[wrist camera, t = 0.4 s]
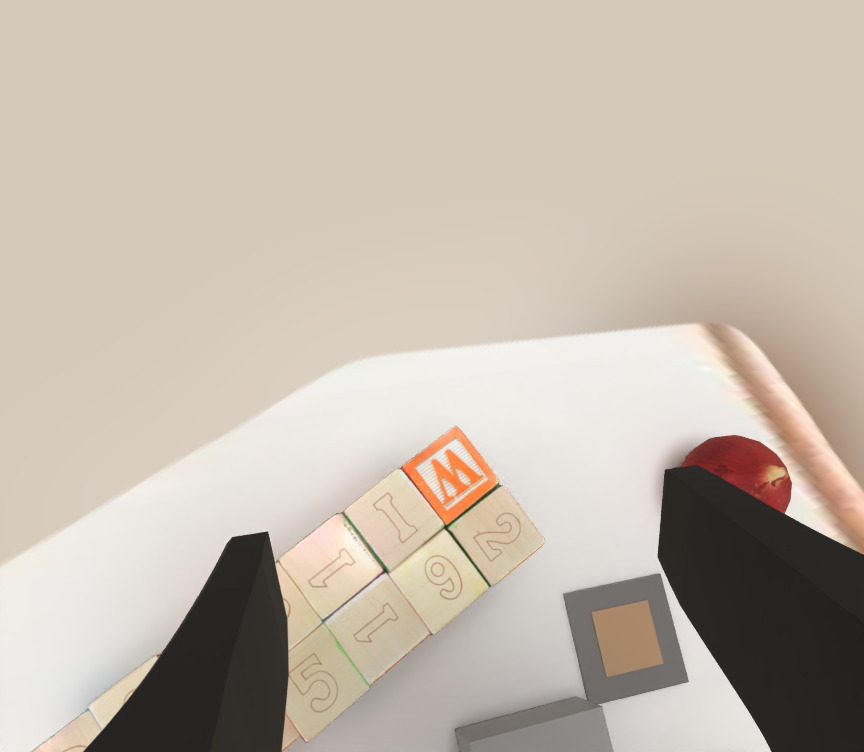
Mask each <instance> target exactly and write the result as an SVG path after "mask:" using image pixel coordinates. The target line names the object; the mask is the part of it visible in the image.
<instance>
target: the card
mask: <svg viewBox="0 0 864 752" xmlns="http://www.w3.org/2000/svg"><path fill="white" fill-rule="evenodd" d="M563 595H564V599H565V604H566V608H567V612H568V617H569V621H570V626H571V630H572V634H573V639H574V643H575V648H576V652H577V657H578V661H579V665H580V670H581V674H582V679H583V683H584V687H585V692H586V696H587V701H589V702H592V703H594V704H601V703H605V702H609V701H613V700H617V699H621V698H625V697H630V696H634V695H638V694H642V693H646V692H650V691H654V690H658V689H662V688H666V687H670V686H674V685H678V684H682V683H686V682H689V681H688V677H687V673H686V670H685V666H684V662H683V658H682V654H681V650H680V647H679V643H678V639H677V635H676V631H675V628H674V624H673V620H672V616H671V612H670V608H669V605H668V601H667V597H666V593H665V589H664V585H663V582H662V578H661V574H656V575H651V576H646V577H641V578H637V579H632V580H627V581H622V582H618V583H613V584H608V585H604V586H599V587H594V588H589V589H585V590H580V591H575V592H570V593H566V594H563Z"/></svg>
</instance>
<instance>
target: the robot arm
mask: <svg viewBox="0 0 864 752" xmlns="http://www.w3.org/2000/svg"><path fill="white" fill-rule="evenodd" d="M658 559H659V561H660V563H661V566H662V568H663V570H664V572H665V574H666V577H667V579H668V581H669V583H670V585H671V587H672V589H673V591H674V593H675V595H676V598H677V600H678V602H679V604H680V606H681V607H682V609H683V610H684V612H685V614H686V615H687V617H688V618H689V620H690V622H691V623H692V625H693V626H694V628H695V629H696V631H697V632H698V634H699V636H700V637H701V639H702V640H703V642H704V643H705V645H706V646H707V648H708V650H709V651H710V653H711V654H712V656H713V657H714V659H715V660H716V662H717V663H718V665H719V666H720V668H721V669H722V671H723V673H724V674H725V676H726V677H727V679H728V680H729V682H730V683H731V685H732V686H733V688H734V689H735V691H736V692H737V694H738V696H739V697H740V699H741V700H742V702H743V703H744V705H745V706H746V708H747V709H748V711H749V713H750V714H751V716H752V718H753V719H754V721H755V723H756V724H757V726H758V728H759V729H760V731H761V733H762V734H763V736H764V738H765V740H766V742H767V744H768V746H769V748H770V750H771V751H772V752H864V555H863V554H861V553H859V552H857V551H855V550H853V549H851V548H849V547H847V546H845V545H843V544H841V543H839V542H837V541H835V540H833V539H831V538H829V537H827V536H825V535H823V534H821V533H819V532H817V531H815V530H813V529H811V528H809V527H808V526H806V525H804V524H802V523H800V522H798V521H796V520H795V519H793V518H791V517H789V516H787V515H786V514H784V513H782V512H780V511H778V510H777V509H775V508H773V507H771V506H770V505H768V504H766V503H764V502H763V501H761V500H759V499H757V498H756V497H754V496H752V495H750V494H749V493H747V492H745V491H743V490H742V489H740V488H738V487H736V486H735V485H733V484H731V483H729V482H728V481H726V480H724V479H722V478H721V477H719V476H717V475H715V474H714V473H712V472H710V471H708V470H706V469H704V468H702V467H700V466H698V465H692V466H685V467H679V468H672V469H666V470H665V474H664V486H663V498H662V510H661V522H660V534H659V546H658ZM288 678H289V657H288V619H287V615H286V610H285V606H284V601H283V597H282V592H281V588H280V583H279V579H278V574H277V570H276V565H275V561H274V556H273V552H272V547H271V543H270V538H269V534H268V532H262V533H255V534H249V535H243V536H236V537H232V538H231V539H230V541H229V542H228V543H227V544H226V546H225V548H224V550H223V552H222V554H221V556H220V558H219V560H218V562H217V564H216V566H215V567H214V569H213V571H212V573H211V575H210V577H209V578H208V580H207V582H206V584H205V585H204V587H203V589H202V591H201V592H200V594H199V596H198V598H197V599H196V601H195V602H194V604H193V606H192V607H191V609H190V611H189V612H188V614H187V615H186V617H185V619H184V620H183V622H182V624H181V625H180V627H179V628H178V630H177V631H176V633H175V634H174V636H173V638H172V639H171V640H170V642H169V643H168V645H167V646H166V648H165V649H164V650H163V652H162V653H161V655H160V656H159V658H158V659H157V661H156V662H155V663H154V665H153V666H152V668H151V669H150V671H149V672H148V673H147V675H146V676H145V678H144V679H143V680H142V681H141V683H140V684H139V685H138V687H137V688H136V689H135V691H134V692H133V693H132V695H131V696H130V697H129V698H128V700H127V701H126V702H125V703H124V705H123V706H122V707H121V708H120V710H119V711H118V712H117V713H116V714H115V716H114V717H113V718H112V719H111V720H110V722H109V723H108V724H107V725H106V726H105V728H104V729H103V730H102V731H101V732H100V733H99V734H98V735H97V737H96V738H95V739H94V740H93V741H92V742H91V743H90V744H89V745H88V747H87V748H86V749H85V750H84V751H83V752H282V744H283V733H284V723H285V712H286V701H287V690H288Z"/></svg>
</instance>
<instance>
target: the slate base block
mask: <svg viewBox="0 0 864 752" xmlns="http://www.w3.org/2000/svg"><path fill="white" fill-rule="evenodd" d="M455 732H456V737H457V742H458V747H459V752H613V749H612V745H611V741H610V737H609V733H608V729H607V725H606V721H605V717H604V713H603V709H602V706H599V705H597V704H594V703H592V702H589V701H587V700H584V699H581V698H579V697H572V698H569V699H565V700H561V701H557V702H554V703H550V704H546V705H542V706H539V707H535V708H531V709H528V710H524V711H520V712H516V713H513V714H509V715H505V716H501V717H498V718H494V719H490V720H487V721H483V722H479V723H475V724H472V725H468V726H464V727H460V728H457V729H455Z"/></svg>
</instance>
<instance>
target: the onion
mask: <svg viewBox="0 0 864 752" xmlns="http://www.w3.org/2000/svg"><path fill="white" fill-rule="evenodd" d="M692 465H698V466H700V467H702V468H704V469H706V470H708V471H710V472H712V473H714V474H715V475H717V476H719V477H721V478H722V479H724V480H726V481H728V482H729V483H731V484H733V485H735V486H736V487H738V488H740V489H742V490H743V491H745V492H747V493H749V494H750V495H752V496H754V497H756V498H757V499H759V500H761V501H763V502H764V503H766V504H768V505H770V506H771V507H773V508H775V509H777V510H778V511H780V512H782V513H784V514H785V511H786V509H787V507H788V505H789V502H790V499H791V487H792V482H791V480H790V477H789V474H788V471H787V468H786V466H785V465H784V464H783V462H782V461H781V460H780V458H779V457H778V456H777V454H776V453H774V452H773V451H772V450H770V449H769V448H768V447H766V446H765V445H764V444H762V443H761V442H759V441H755V440H752V439H749V438H745V437H742V436H737V435H731V436H722V437H715V438H710V439H708V440H706V441H705V442H704V443H702V444H701V445H699V446H698V447H696V448H695V449H694V450H692V451H691V452H690V453H689V455H688V456H687V458H686V459H685V461H684V463H683V464H682V466H681V467H685V466H692Z"/></svg>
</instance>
